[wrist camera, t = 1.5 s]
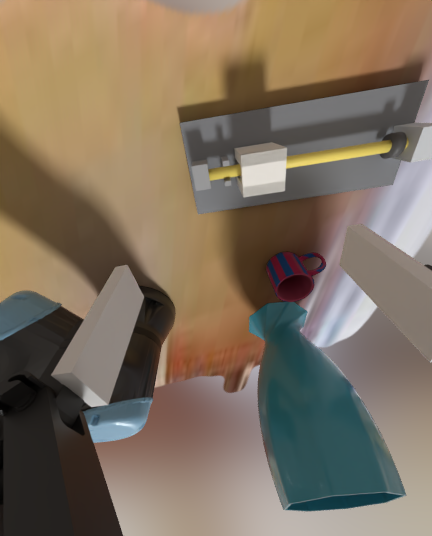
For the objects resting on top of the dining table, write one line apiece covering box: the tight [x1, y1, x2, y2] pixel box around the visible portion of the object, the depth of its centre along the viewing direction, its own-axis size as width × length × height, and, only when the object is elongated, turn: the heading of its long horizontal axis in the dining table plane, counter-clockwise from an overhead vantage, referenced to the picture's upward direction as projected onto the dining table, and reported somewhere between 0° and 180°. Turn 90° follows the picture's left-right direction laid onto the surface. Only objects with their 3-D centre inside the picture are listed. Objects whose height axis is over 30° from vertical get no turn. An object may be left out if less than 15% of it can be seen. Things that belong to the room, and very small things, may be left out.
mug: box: [266, 252, 326, 302], centre depth 38 cm, size 7×10×7 cm
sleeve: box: [234, 142, 287, 197], centre depth 26 cm, size 5×5×6 cm
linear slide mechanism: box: [180, 80, 432, 214], centre depth 28 cm, size 30×12×6 cm, turn 98°
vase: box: [249, 302, 406, 511], centre depth 40 cm, size 17×17×30 cm
